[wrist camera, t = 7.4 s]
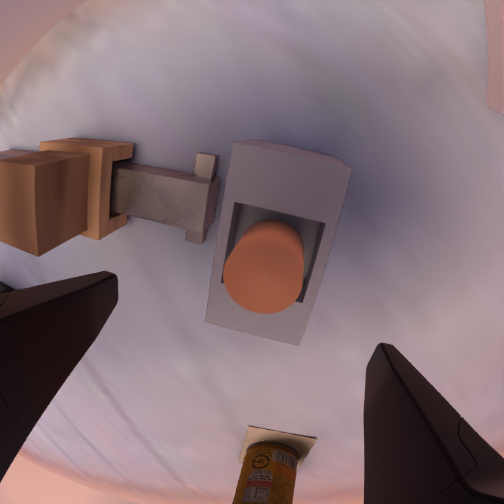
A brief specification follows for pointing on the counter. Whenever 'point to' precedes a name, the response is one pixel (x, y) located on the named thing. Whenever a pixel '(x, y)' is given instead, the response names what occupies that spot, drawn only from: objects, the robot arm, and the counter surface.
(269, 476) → the condiment
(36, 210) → the carriage
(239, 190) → the grey peg holder
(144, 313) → the counter surface
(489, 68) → the milk
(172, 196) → the rail
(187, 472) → the counter surface
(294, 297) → the brown rounded piece
